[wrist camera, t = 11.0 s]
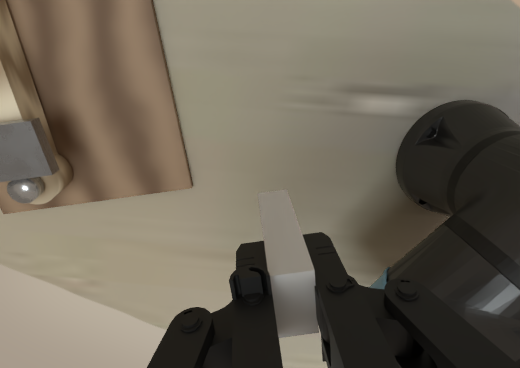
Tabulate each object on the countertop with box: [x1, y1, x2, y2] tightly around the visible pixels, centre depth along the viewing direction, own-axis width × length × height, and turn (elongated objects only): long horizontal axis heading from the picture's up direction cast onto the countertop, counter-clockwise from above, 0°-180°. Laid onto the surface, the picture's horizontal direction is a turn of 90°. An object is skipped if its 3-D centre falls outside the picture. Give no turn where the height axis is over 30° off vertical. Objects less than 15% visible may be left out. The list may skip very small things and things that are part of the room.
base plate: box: [0, 0, 193, 214], centre depth 36 cm, size 24×30×1 cm
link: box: [0, 0, 73, 204], centre depth 33 cm, size 24×5×4 cm, turn 4°
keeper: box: [0, 118, 60, 182], centre depth 34 cm, size 12×6×7 cm, turn 97°
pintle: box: [7, 177, 44, 204], centre depth 34 cm, size 3×3×2 cm
